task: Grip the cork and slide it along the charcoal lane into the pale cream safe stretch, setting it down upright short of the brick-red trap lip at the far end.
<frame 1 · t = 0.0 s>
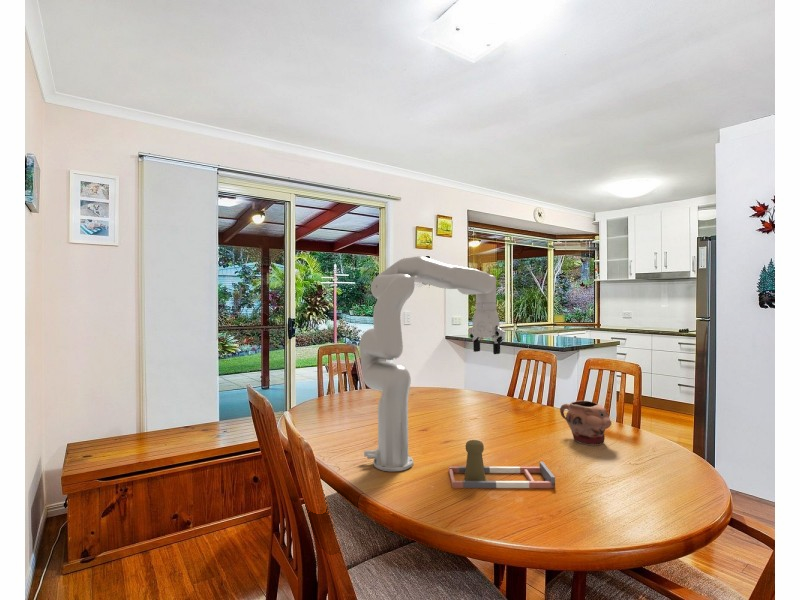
hand: (486, 352, 161), 31 cm above the table, tool pointing down, fingers open, 9 cm apart
sculpted ceramic mug: (584, 441, 153), on the table
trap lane: (499, 479, 122), on the table
cork: (474, 480, 122), resting in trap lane
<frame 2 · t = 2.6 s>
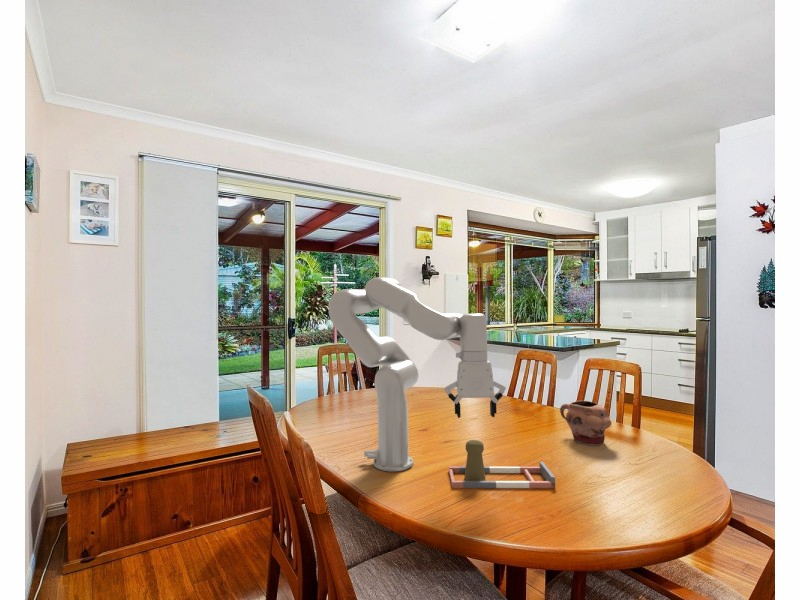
hand: (475, 416, 122), 18 cm above the table, tool pointing down, fingers open, 9 cm apart
nothing on the table moved.
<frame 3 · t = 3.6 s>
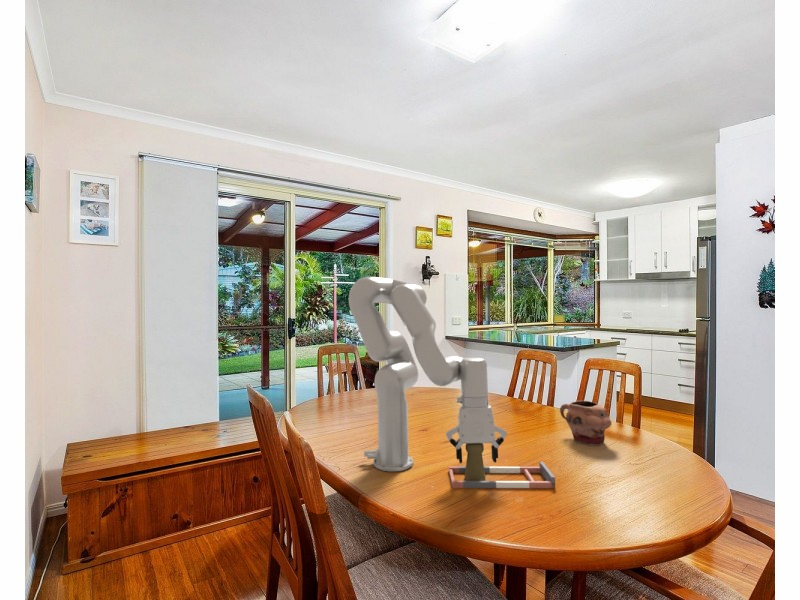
hand: (477, 461, 122), 5 cm above the table, tool pointing down, fingers open, 9 cm apart
nothing on the table moved.
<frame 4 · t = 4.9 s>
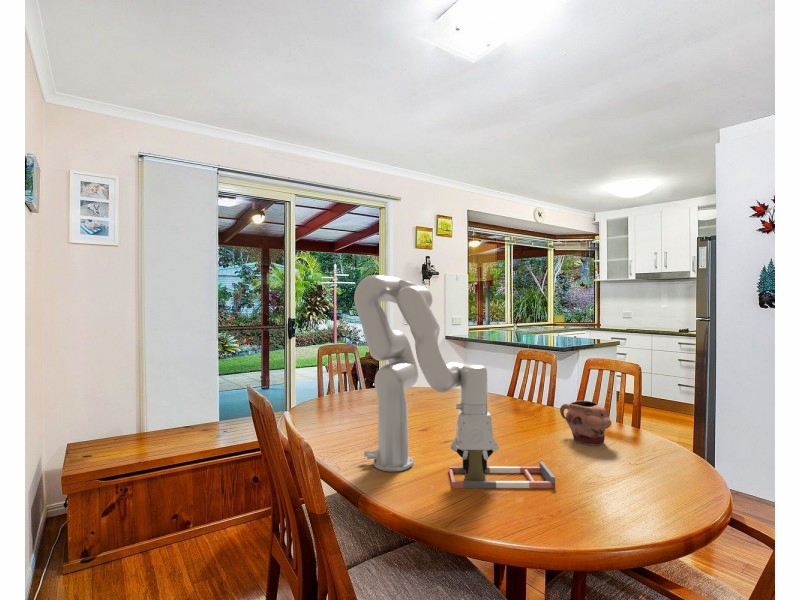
hand: (474, 471, 122), 2 cm above the table, tool pointing down, fingers closed on cork, 4 cm apart
cork: (475, 480, 122), resting in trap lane, touching gripper
everything else where it was.
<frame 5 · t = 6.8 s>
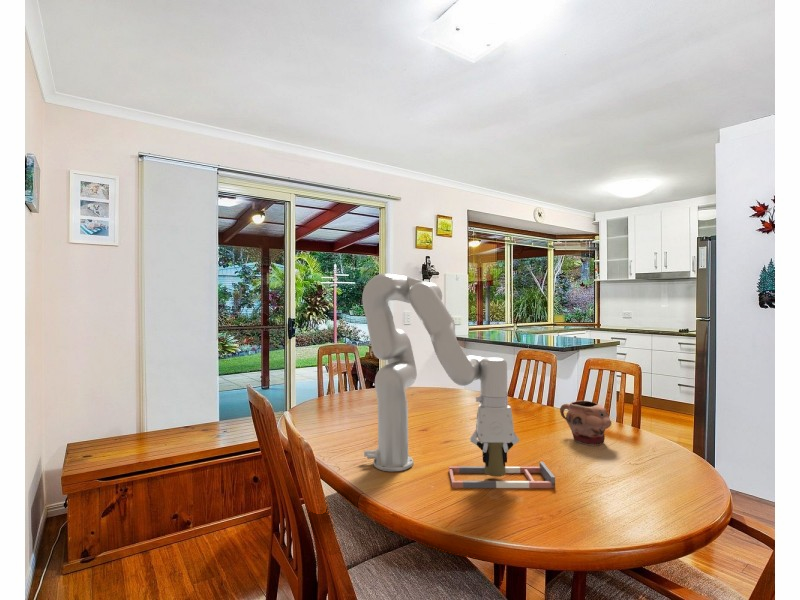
hand: (494, 464, 122), 4 cm above the table, tool pointing down, fingers closed on cork, 4 cm apart
cork: (495, 472, 122), point 2 cm above the table, touching gripper
everything else where it was.
when the fingers open (3 cm above the table, at t = 8.6 s): cork stays where it is, resting in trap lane.
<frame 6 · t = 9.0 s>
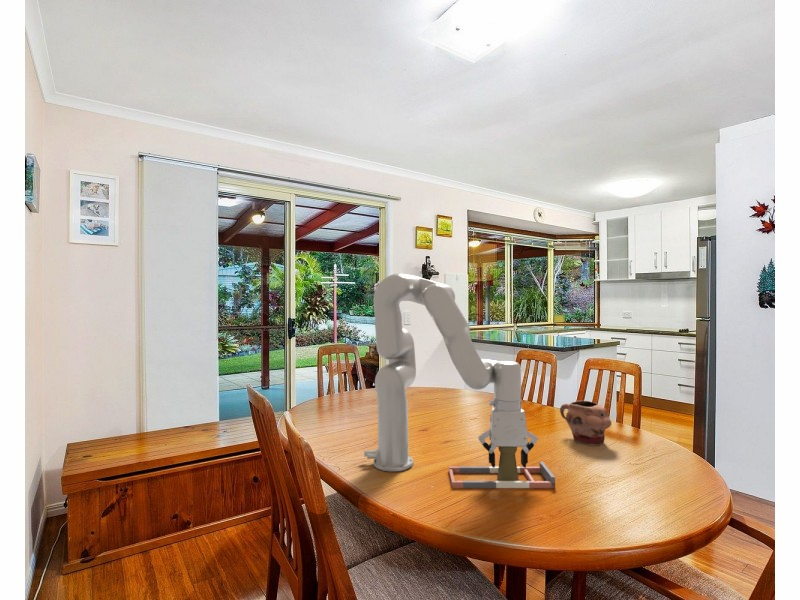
hand: (508, 465, 122), 4 cm above the table, tool pointing down, fingers open, 8 cm apart
cork: (507, 480, 122), resting in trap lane
everything else where it was.
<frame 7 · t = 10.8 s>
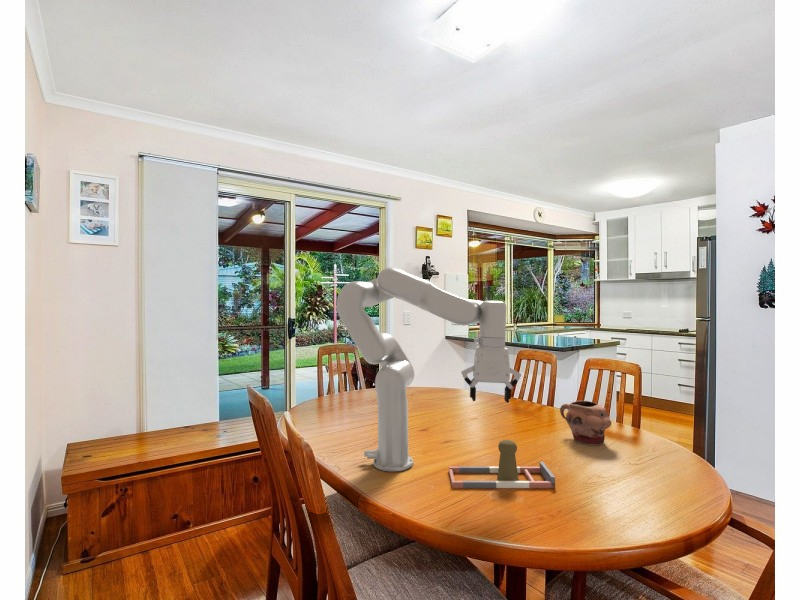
hand: (490, 400, 125), 22 cm above the table, tool pointing down, fingers open, 9 cm apart
nothing on the table moved.
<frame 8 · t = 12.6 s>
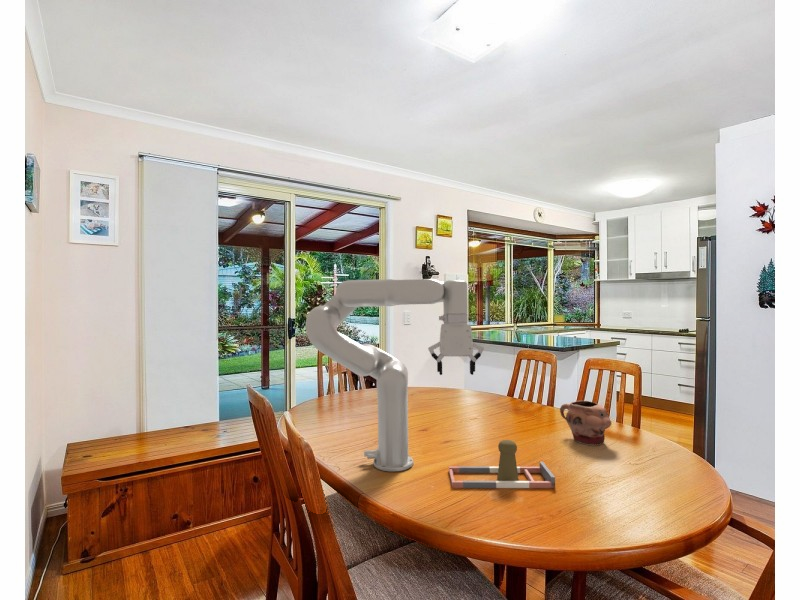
hand: (456, 374, 133), 28 cm above the table, tool pointing down, fingers open, 9 cm apart
nothing on the table moved.
at the end: cork inside the target area (0.4 cm from its centre), resting in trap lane; cork tilted 0°; the gripper is holding nothing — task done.
